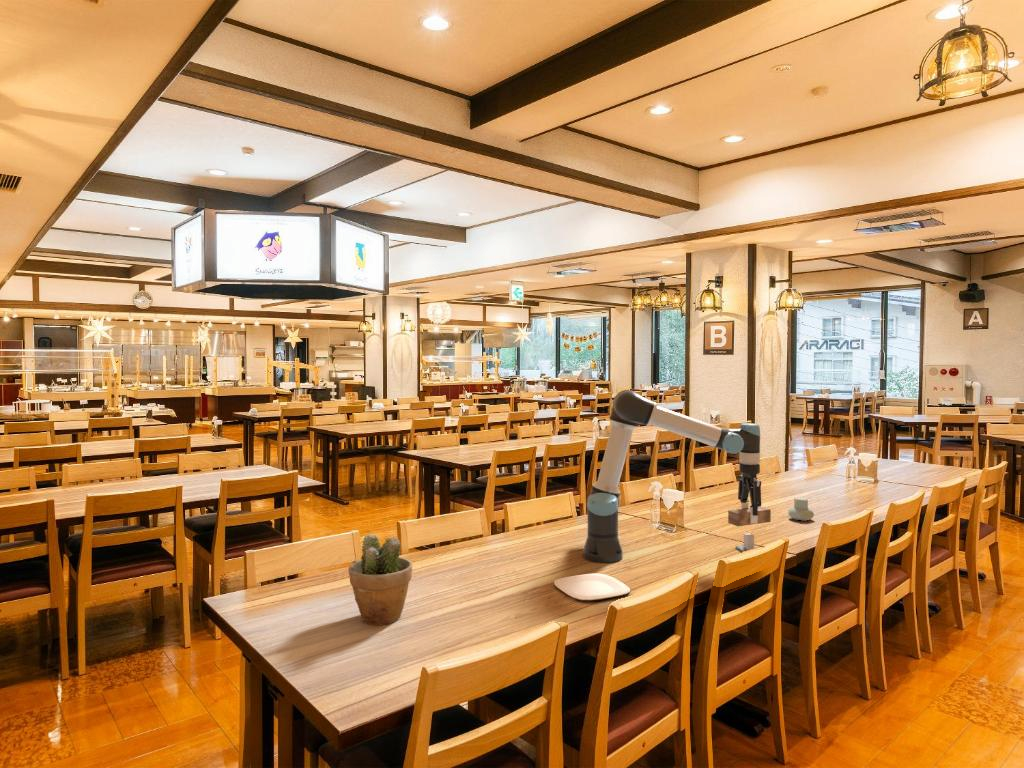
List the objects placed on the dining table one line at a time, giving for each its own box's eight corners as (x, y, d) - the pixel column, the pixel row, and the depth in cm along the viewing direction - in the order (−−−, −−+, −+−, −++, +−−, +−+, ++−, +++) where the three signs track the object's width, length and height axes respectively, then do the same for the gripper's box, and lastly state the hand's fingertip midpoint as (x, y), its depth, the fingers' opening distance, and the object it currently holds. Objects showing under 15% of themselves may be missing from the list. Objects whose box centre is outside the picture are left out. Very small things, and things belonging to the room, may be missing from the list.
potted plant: (335, 625, 179) (334, 538, 179) (372, 602, 197) (371, 523, 196) (391, 635, 173) (390, 545, 172) (424, 610, 190) (423, 528, 189)
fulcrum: (745, 554, 244) (745, 537, 244) (735, 548, 252) (735, 532, 252) (762, 553, 245) (762, 537, 245) (751, 547, 253) (752, 531, 252)
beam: (737, 526, 243) (737, 513, 242) (728, 523, 248) (728, 510, 247) (770, 522, 248) (770, 509, 248) (760, 518, 253) (760, 506, 253)
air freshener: (803, 516, 303) (803, 496, 302) (816, 520, 295) (817, 499, 295) (785, 518, 299) (785, 497, 299) (798, 522, 292) (798, 501, 291)
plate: (579, 607, 193) (579, 601, 193) (547, 584, 213) (547, 579, 213) (638, 596, 202) (638, 591, 202) (602, 575, 222) (602, 570, 222)
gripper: (771, 466, 238) (771, 527, 239) (746, 458, 257) (746, 514, 258) (753, 467, 237) (752, 527, 238) (729, 459, 256) (728, 515, 257)
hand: (749, 521), depth 248 cm, fingers closed on beam, 6 cm apart
